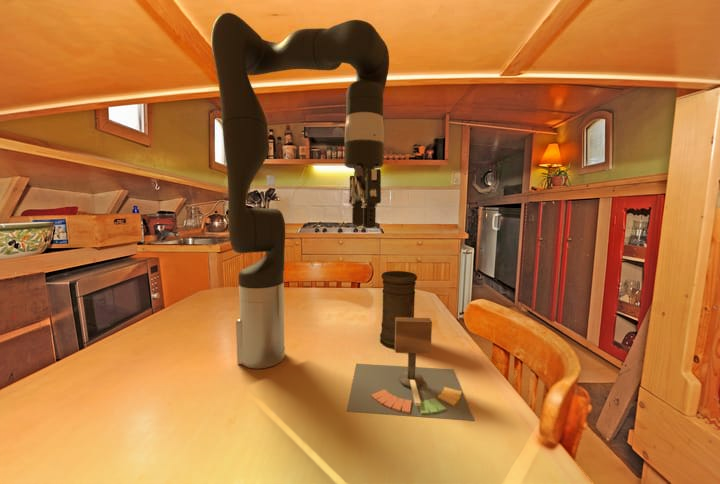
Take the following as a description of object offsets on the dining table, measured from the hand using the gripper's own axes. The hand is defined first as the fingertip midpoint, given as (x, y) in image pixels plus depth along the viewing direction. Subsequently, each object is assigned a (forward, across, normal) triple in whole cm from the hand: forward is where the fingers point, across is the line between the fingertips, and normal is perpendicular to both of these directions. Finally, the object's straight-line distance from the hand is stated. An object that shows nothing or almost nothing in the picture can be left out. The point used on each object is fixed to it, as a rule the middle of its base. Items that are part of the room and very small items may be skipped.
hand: (362, 226), depth 60 cm
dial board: (+30, -10, -6) cm, 32 cm away
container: (+30, +8, -12) cm, 34 cm away
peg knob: (+29, -11, -7) cm, 31 cm away
